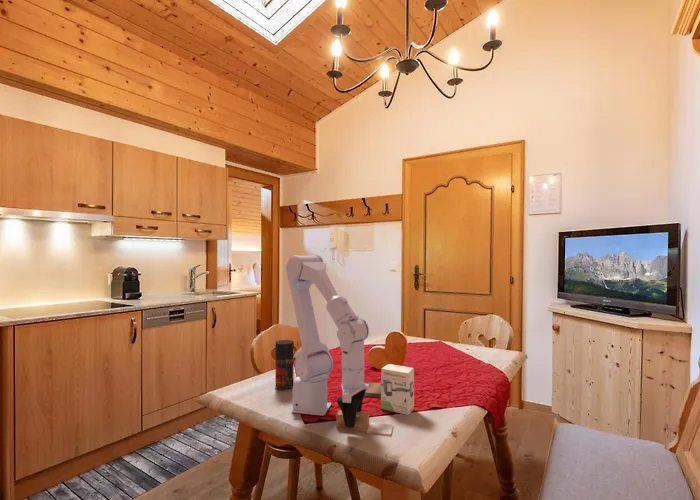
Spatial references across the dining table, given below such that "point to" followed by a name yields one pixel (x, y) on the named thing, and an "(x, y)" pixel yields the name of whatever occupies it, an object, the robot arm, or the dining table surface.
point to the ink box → (397, 389)
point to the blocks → (365, 424)
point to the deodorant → (284, 365)
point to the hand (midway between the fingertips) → (353, 420)
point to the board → (373, 390)
